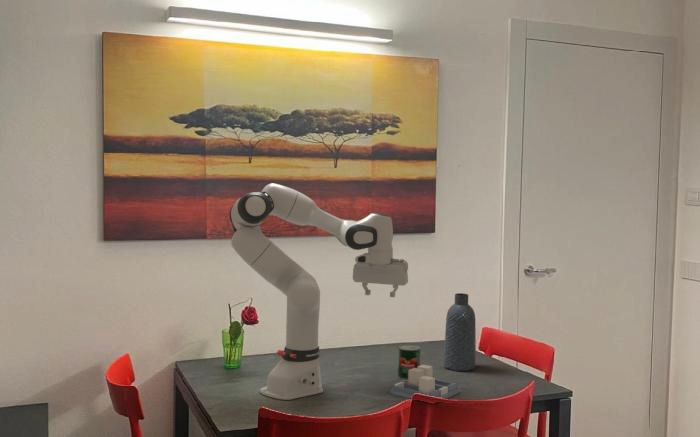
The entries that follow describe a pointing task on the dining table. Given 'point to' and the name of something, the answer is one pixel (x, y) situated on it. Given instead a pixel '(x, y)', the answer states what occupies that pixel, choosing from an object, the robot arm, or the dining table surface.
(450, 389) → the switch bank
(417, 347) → the canned tomato
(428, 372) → the far tab
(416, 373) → the middle tab
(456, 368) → the vase
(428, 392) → the near tab
